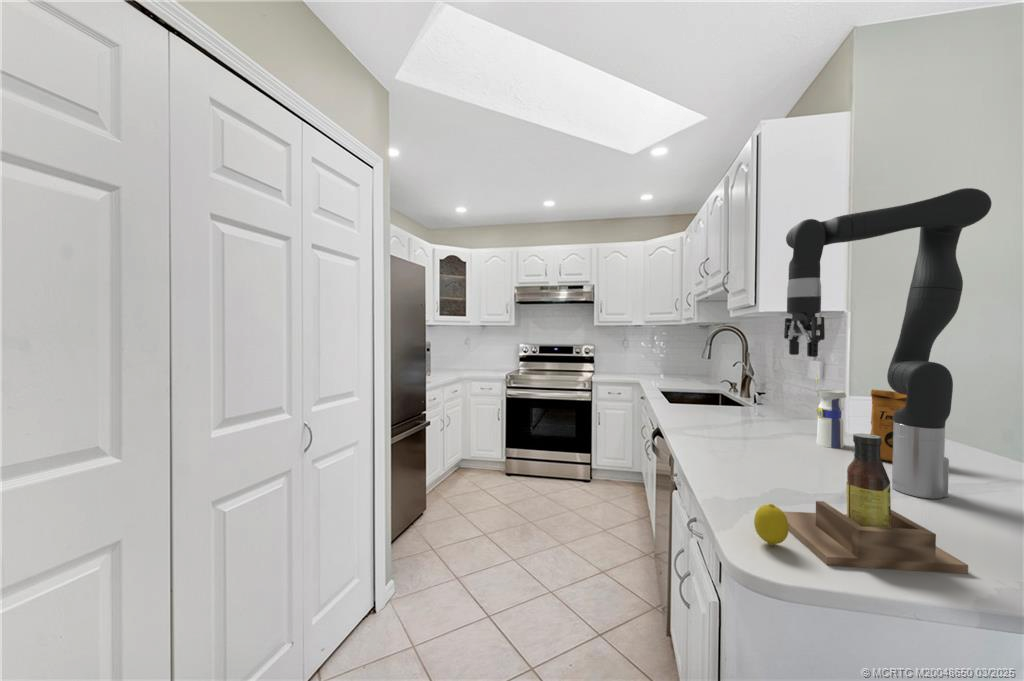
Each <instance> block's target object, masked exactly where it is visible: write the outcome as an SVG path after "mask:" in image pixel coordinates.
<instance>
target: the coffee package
mask: <svg viewBox="0 0 1024 681" xmlns="http://www.w3.org/2000/svg"><path fill="white" fill-rule="evenodd" d="M870 397H871V418H870V425H871V430H870V434H871V435H876V436H879V437H881V440H882V444H881V446H880V452H881V453H880V454H881V461H886V462H891V463H893V422H894V421H893V419H894V412H895V411H896V410H899V409H902V408H904V407H905V405H906V398H907V395H904V394H900V393H898V392H896V391H894V390H893V391H891V390H883V389H874V388H873V389H871V391H870Z"/></svg>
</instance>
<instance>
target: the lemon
mask: <svg viewBox="0 0 1024 681" xmlns="http://www.w3.org/2000/svg"><path fill="white" fill-rule="evenodd" d="M753 521H754V523H753V524H754V528H755V532H756V534H757V535H758V536H759V538H760V539H761V540H763V541H764V542H766V543H767V545H769V546H774V545H777V544H781V543H783V542H784V541H785V540H786V539H787V537H788V535H789V531H788V521H787V518H786V516H785V514H784V513H783V510H782V509H780V508H779V507H777V506H776V505H774V504H773V503H768V504H764V505H761V506H760V507H758V509H757V510H756V511H755V514H754V520H753Z"/></svg>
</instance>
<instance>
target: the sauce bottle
mask: <svg viewBox="0 0 1024 681" xmlns="http://www.w3.org/2000/svg"><path fill="white" fill-rule="evenodd" d="M852 442H853V443H854V453H853V456H854V457H853V459H852V461H851V462H850V464H848V466H847V470H846V472H847V473H846V479H847V481H846V514H847V517H848V518H850V519H851V520H853V521H854V522H856V523H857V524H859V525H860V526H862V527H881V528H891V510H892V509H891V507H892V506H891V505H892V504H891V480H890V478H889V477H890V476H888V473H887V471H886V468H885V466H884V464H883V460H881V454H880V453H881V452H880V446H881V444H882V440H881V437H879V436H876V435H871V433H853V434H852Z"/></svg>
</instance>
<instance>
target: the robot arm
mask: <svg viewBox="0 0 1024 681" xmlns="http://www.w3.org/2000/svg"><path fill="white" fill-rule="evenodd" d="M991 209H992V199H991V197H990V195H989V194H988V193H987V192H985V191H984V190H981V189H978V188H975V187H967V188H959V189H956V190H952V191H949V192H947V193H944V194H941V195H938V196H934V197H931V198H928V199H924V200H920V201H916V202H912V203H905V204H903V205H895V206H890V207H886V208H885V207H883V208H879V209H874V210H873V209H872V210H866V211H861V212H854V213H849V214H848V213H847V214H843V215H840V216H836V217H833V218H831V219H828V220H823V221H819V220H817V219H814V218H809V219H808V218H807V219H804V220H802V221H800V222H799V223H797V224H796V225H794V226H793V227H792V228H790V229H789V231H788V232H787V234H786V237H785V241H786V244H787V245H788V247H790V248H791V249H792V250H793V251H792V257H791V260H790V261H789V263H788V282H787V289H786V291H787V293H786V313H787V314H789V315H792V316H791V317H786V318H785V319H784V330H783V331H784V332H783V333H784V334H783V338H784V339H785V340H786V339H787V341H788V343H789V344H788V346H789V347H788V353H789V355H792V356H796V355H797V356H798V355H799V354H800V339H801V336H804V337H805V339H806V340H807V343H806V344H807V345H806V349H807V350H806V351H807V352H806V356H807V357H808V358H809V357H811V358H813V357H814V358H816V357H818V356H819V355H818V354H819V343H820V342H821V341H823V340H825V335H826V334H825V333H826V332H825V329H826V328H825V317H824V316H816V314H820V313H821V312H822V283H821V259H822V255H823V250H824V247H825V246H828V245H832V244H840V243H841V244H842V243H848V242H854V241H861V240H868V239H871V238H872V239H873V238H876V237H881V236H885V235H889V234H893V233H897V232H901V231H906V230H911V229H917V228H919V229H920V231H919V242H918V250H917V252H918V253H917V257H916V260H915V264H914V268H913V273H912V278H911V279H912V280H911V283H910V287H909V291H908V295H907V300H906V307H905V311H904V315H903V321H902V324H901V328H900V333H899V337H898V341H897V344H896V347H895V350H894V352H893V356H892V358H891V360H890V363H889V367H888V368H887V369H888V370H887V375H886V376H887V378H886V379H887V383H888V386H889V387H890V388H891V390H893V391H894V392H898V393H900V394H904V395H907V398H906V405H905V407H904V408H902V409H899V410H896V411H895V412H894V419H893V421H894V422H893V462H891V463H892V468H891V469H892V471H891V475H892V476H891V487H892V489H893V490H895V491H897V492H899V493H903V494H904V495H905V494H906V495H909V496H912V497H913V496H914V497H918V498H923V499H931V500H932V499H934V500H936V499H937V500H938V499H943V498H948V497H949V477H950V476H949V472H950V470H949V469H950V460H949V458H948V457H945V444H946V442H945V441H946V422H947V419H949V416H950V414H951V411H952V400H953V391H954V389H953V388H954V382H953V375H952V374H951V371H950V369H949V368H947V367H946V366H945V365H943V364H940V363H938V362H934V361H930V356H931V352H932V349H933V345H934V343H935V341H936V340H937V338H938V337H939V335H940V334H941V333H942V332H943V331H944V329H945V328H946V327H947V326H948V325H949V324H950V322H951V321H952V320H953V318H954V317H955V315H956V314H957V312H958V309H959V307H960V302H961V298H962V294H963V287H964V281H963V276H962V272H961V268H960V267H959V262H958V260H957V248H958V243H959V240H960V235H961V234H962V231H963V229H964V228H967V227H970V226H972V225H974V224H976V223H978V222H980V221H981V220H982V219H984V218H985V217H986V216H987V215H988V214H989V212H990V210H991Z"/></svg>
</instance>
